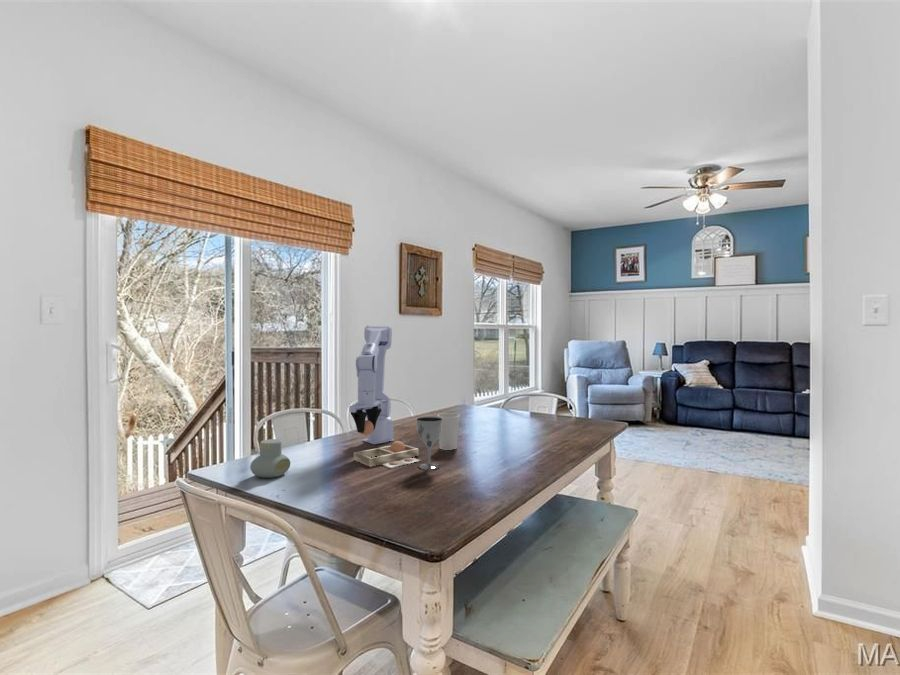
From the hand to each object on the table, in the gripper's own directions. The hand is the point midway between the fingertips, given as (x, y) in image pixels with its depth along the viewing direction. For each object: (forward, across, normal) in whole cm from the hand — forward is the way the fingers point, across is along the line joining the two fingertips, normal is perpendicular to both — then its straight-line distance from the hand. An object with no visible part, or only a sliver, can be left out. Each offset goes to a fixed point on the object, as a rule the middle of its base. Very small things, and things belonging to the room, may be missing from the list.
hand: (366, 431), depth 159 cm
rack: (+9, -1, +10) cm, 13 cm away
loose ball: (-1, 0, 0) cm, 1 cm away
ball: (+6, -6, +8) cm, 12 cm away
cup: (+9, -24, +18) cm, 31 cm away
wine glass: (+9, -1, +25) cm, 26 cm away
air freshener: (+9, +31, -10) cm, 33 cm away
